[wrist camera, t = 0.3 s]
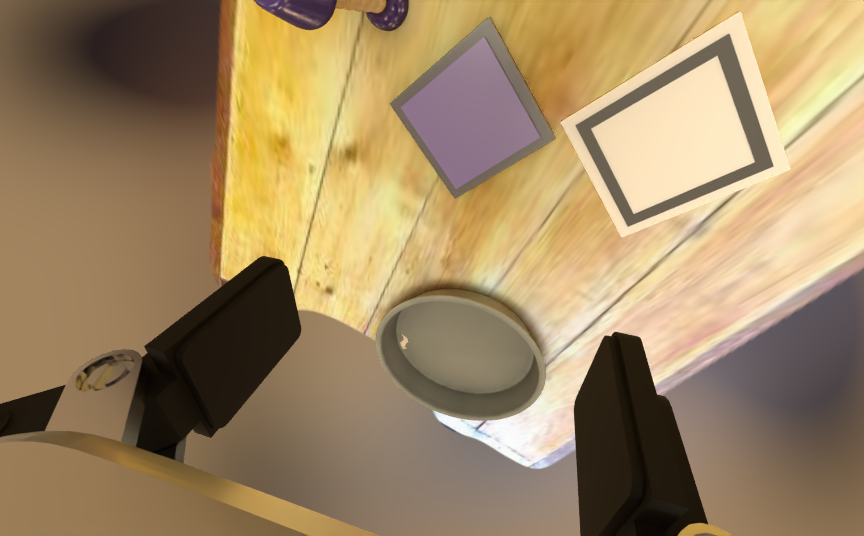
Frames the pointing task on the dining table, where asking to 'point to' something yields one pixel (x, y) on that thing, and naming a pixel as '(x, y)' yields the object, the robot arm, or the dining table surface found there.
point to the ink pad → (473, 112)
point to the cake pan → (461, 355)
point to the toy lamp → (315, 3)
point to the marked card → (680, 131)
